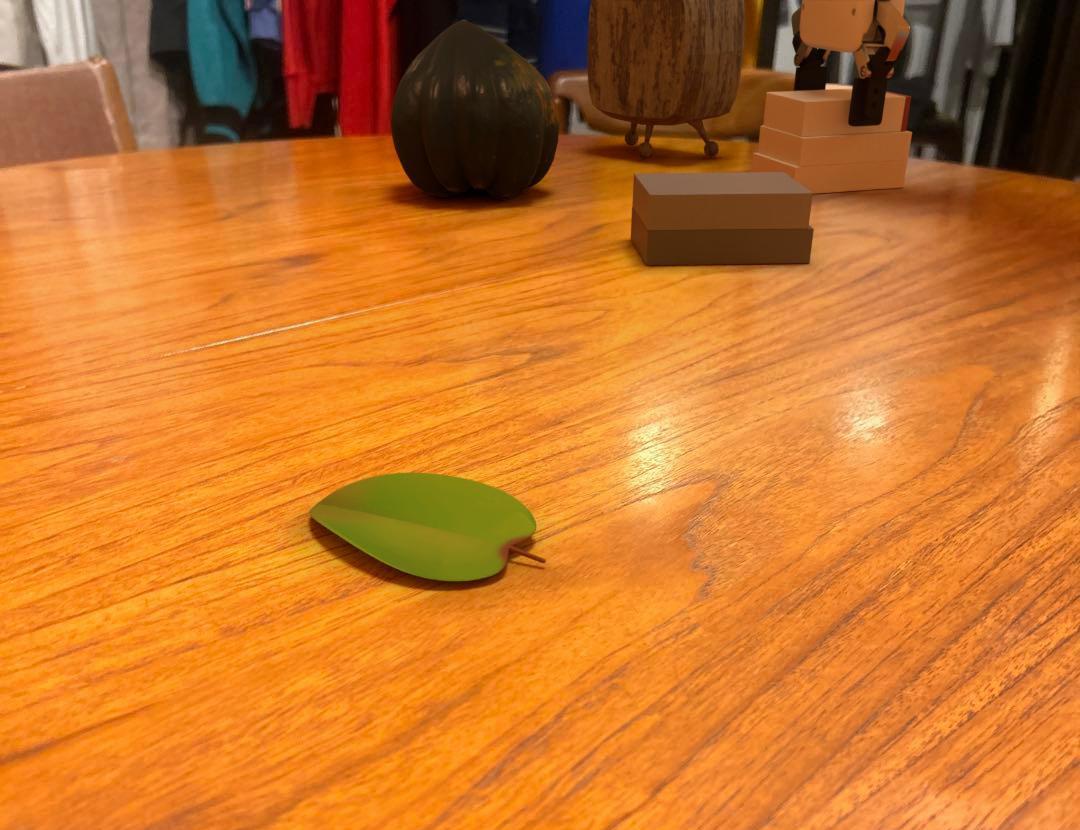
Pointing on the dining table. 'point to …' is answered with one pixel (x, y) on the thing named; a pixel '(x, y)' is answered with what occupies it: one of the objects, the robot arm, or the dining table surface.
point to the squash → (473, 117)
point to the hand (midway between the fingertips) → (834, 118)
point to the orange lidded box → (835, 159)
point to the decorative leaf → (429, 524)
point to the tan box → (828, 113)
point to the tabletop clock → (665, 62)
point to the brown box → (721, 218)
